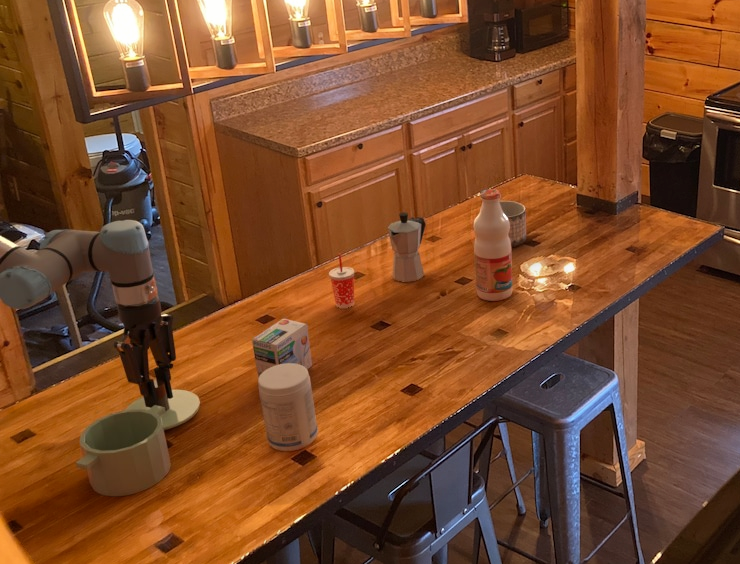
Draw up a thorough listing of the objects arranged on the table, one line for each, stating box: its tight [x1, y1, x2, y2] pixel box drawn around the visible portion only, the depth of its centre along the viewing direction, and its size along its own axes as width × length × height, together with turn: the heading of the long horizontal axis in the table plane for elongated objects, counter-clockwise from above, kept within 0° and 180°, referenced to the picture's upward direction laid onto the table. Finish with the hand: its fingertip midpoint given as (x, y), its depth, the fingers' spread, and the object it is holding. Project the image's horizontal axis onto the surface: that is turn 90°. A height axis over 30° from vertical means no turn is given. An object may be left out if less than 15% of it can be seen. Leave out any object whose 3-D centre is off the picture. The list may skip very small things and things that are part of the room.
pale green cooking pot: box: [75, 405, 172, 497], centre depth 175 cm, size 14×19×10 cm
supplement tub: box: [257, 363, 319, 452], centre depth 184 cm, size 10×10×15 cm
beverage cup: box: [328, 253, 356, 309], centre depth 237 cm, size 6×6×14 cm
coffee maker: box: [387, 212, 427, 283], centre depth 252 cm, size 15×9×18 cm, turn 155°
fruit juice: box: [473, 188, 514, 302], centre depth 240 cm, size 9×9×28 cm
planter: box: [499, 200, 527, 248], centre depth 274 cm, size 13×13×10 cm
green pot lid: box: [123, 379, 201, 431], centre depth 193 cm, size 15×15×7 cm
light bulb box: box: [251, 317, 313, 379], centre depth 207 cm, size 11×7×11 cm, turn 158°
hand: (159, 401), depth 193 cm, fingers closed on green pot lid, 3 cm apart
